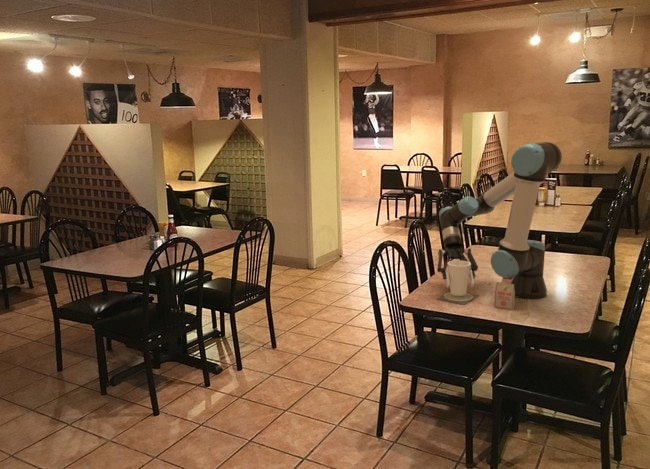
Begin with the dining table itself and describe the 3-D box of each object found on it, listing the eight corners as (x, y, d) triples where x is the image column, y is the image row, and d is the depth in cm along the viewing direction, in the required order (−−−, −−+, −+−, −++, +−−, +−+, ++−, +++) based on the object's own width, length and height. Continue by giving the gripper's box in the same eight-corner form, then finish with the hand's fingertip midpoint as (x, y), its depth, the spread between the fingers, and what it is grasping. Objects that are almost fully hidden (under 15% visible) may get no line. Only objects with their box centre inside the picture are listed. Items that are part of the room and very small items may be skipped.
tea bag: (497, 304, 229) (498, 280, 227) (514, 307, 225) (515, 283, 223) (494, 307, 226) (495, 283, 224) (511, 310, 222) (512, 285, 220)
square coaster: (478, 296, 240) (479, 294, 240) (463, 304, 229) (463, 303, 229) (453, 291, 247) (453, 289, 247) (437, 299, 237) (437, 297, 237)
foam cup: (444, 295, 236) (445, 265, 233) (448, 289, 244) (449, 259, 241) (468, 297, 232) (469, 267, 229) (471, 291, 240) (472, 261, 238)
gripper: (475, 243, 249) (485, 288, 237) (425, 244, 249) (432, 290, 237) (479, 234, 243) (489, 280, 231) (428, 235, 243) (435, 281, 231)
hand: (460, 285), depth 234 cm, fingers closed on foam cup, 9 cm apart
